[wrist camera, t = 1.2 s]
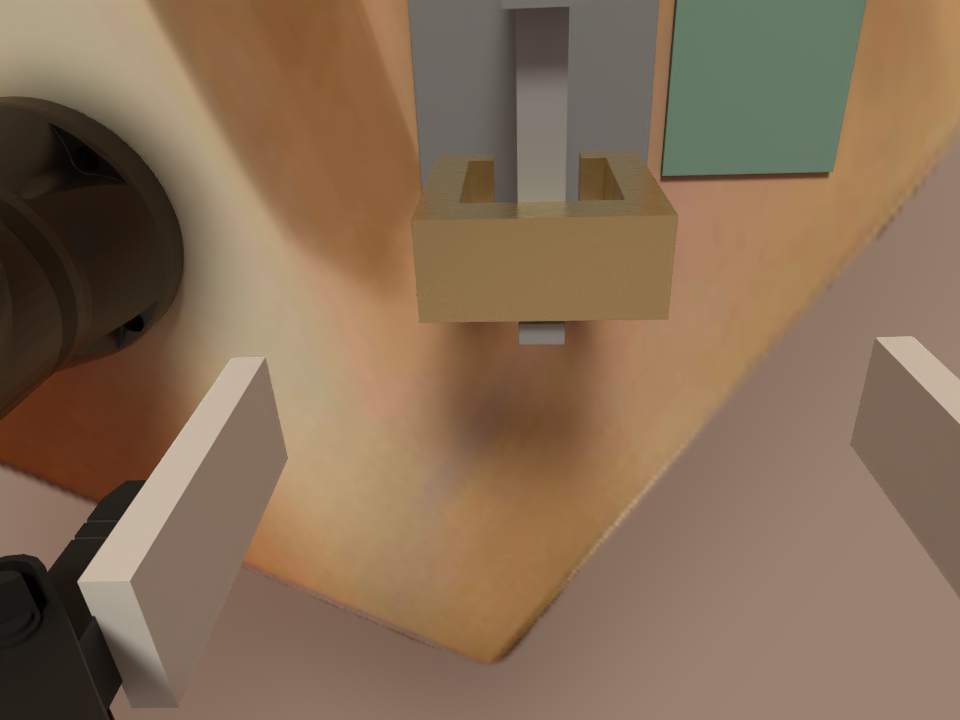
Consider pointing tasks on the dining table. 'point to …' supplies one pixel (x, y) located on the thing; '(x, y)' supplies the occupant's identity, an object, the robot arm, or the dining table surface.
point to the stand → (532, 92)
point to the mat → (758, 85)
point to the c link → (544, 245)
